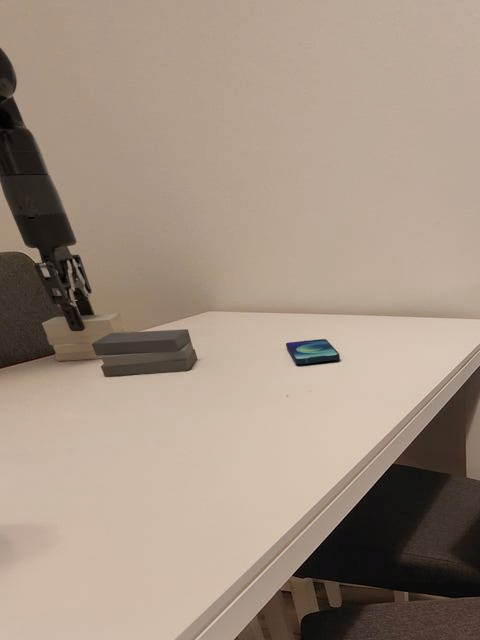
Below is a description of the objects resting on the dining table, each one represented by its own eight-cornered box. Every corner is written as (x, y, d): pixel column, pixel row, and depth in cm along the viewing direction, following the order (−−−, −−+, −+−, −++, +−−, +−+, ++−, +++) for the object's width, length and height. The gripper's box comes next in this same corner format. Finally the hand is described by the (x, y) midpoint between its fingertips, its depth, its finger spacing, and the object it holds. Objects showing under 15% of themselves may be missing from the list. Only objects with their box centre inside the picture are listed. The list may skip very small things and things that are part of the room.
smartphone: (326, 338, 110) (340, 354, 99) (326, 343, 110) (341, 360, 99) (284, 342, 108) (294, 359, 97) (286, 348, 108) (296, 365, 97)
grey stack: (101, 377, 95) (88, 345, 92) (118, 363, 102) (107, 333, 99) (189, 371, 97) (179, 339, 94) (200, 358, 104) (191, 328, 101)
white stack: (55, 362, 104) (44, 337, 102) (68, 353, 109) (59, 330, 107) (124, 357, 106) (115, 333, 103) (134, 349, 111) (126, 326, 109)
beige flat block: (47, 337, 102) (41, 323, 101) (60, 330, 107) (54, 317, 105) (114, 333, 104) (109, 319, 102) (124, 326, 108) (119, 313, 107)
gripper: (31, 210, 99) (76, 321, 110) (-8, 213, 88) (46, 336, 99) (78, 208, 100) (118, 318, 111) (46, 212, 89) (93, 333, 100)
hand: (84, 326), depth 105 cm, fingers closed on beige flat block, 6 cm apart
